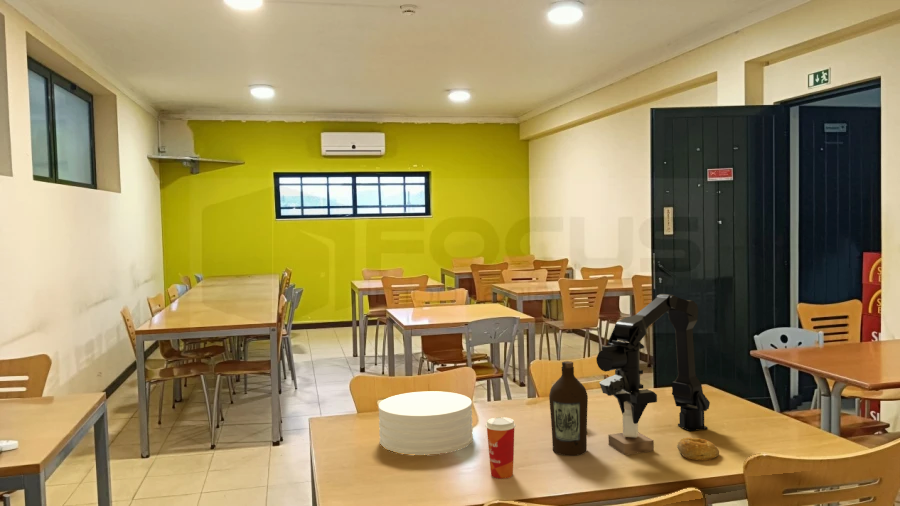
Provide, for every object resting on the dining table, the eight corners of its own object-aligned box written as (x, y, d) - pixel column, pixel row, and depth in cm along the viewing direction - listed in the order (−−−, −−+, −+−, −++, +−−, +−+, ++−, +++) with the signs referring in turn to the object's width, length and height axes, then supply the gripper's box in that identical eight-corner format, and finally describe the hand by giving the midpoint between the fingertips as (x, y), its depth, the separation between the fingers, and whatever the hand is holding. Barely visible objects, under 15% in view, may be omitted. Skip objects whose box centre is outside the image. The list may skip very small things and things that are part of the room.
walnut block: (636, 441, 195) (636, 431, 195) (653, 451, 187) (653, 440, 186) (608, 444, 193) (608, 434, 193) (624, 454, 184) (624, 444, 184)
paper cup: (485, 470, 176) (483, 417, 175) (514, 468, 176) (512, 415, 176) (489, 481, 168) (487, 426, 167) (519, 479, 169) (518, 424, 168)
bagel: (726, 461, 178) (725, 443, 177) (684, 462, 177) (684, 444, 177) (711, 449, 187) (710, 432, 187) (671, 450, 187) (671, 433, 187)
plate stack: (491, 437, 203) (490, 400, 203) (426, 463, 183) (425, 421, 182) (426, 421, 222) (425, 387, 222) (360, 443, 202) (359, 405, 202)
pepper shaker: (638, 434, 191) (637, 400, 190) (637, 438, 187) (636, 404, 187) (623, 433, 192) (622, 400, 192) (622, 437, 188) (622, 403, 188)
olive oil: (553, 443, 196) (551, 358, 195) (590, 445, 193) (588, 359, 192) (547, 455, 186) (545, 365, 185) (586, 458, 182) (584, 366, 182)
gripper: (587, 362, 196) (589, 415, 196) (620, 375, 178) (621, 433, 178) (622, 358, 199) (623, 411, 199) (657, 371, 181) (658, 429, 181)
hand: (630, 420), depth 189 cm, fingers closed on pepper shaker, 5 cm apart
